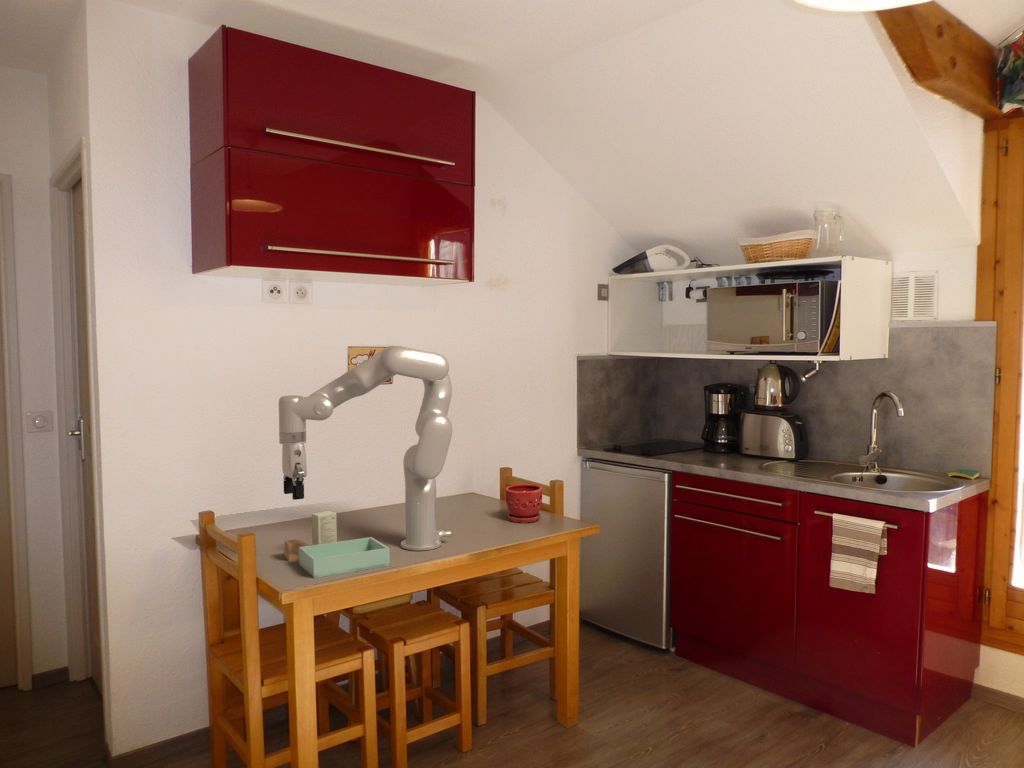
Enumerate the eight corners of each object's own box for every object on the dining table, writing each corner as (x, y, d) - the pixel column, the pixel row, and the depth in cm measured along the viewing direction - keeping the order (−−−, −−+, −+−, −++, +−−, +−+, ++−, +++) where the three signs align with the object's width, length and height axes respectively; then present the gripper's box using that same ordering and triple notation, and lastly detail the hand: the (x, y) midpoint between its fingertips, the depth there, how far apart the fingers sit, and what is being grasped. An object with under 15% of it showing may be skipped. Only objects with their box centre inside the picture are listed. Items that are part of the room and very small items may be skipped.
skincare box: (330, 549, 228) (330, 510, 227) (337, 552, 224) (337, 512, 224) (311, 553, 224) (311, 513, 223) (318, 556, 220) (317, 515, 220)
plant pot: (505, 516, 271) (505, 483, 271) (541, 516, 271) (541, 483, 271) (505, 524, 258) (505, 490, 258) (543, 524, 258) (543, 490, 258)
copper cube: (301, 555, 222) (301, 538, 222) (306, 559, 218) (306, 542, 217) (284, 557, 219) (284, 540, 219) (289, 561, 215) (288, 544, 215)
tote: (371, 553, 223) (371, 536, 223) (389, 565, 210) (389, 548, 210) (299, 564, 212) (299, 547, 212) (313, 578, 199) (313, 559, 199)
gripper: (314, 440, 211) (315, 500, 212) (297, 434, 226) (298, 490, 227) (287, 442, 207) (288, 502, 208) (272, 435, 222) (273, 492, 223)
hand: (293, 496), depth 217 cm, fingers open, 9 cm apart
